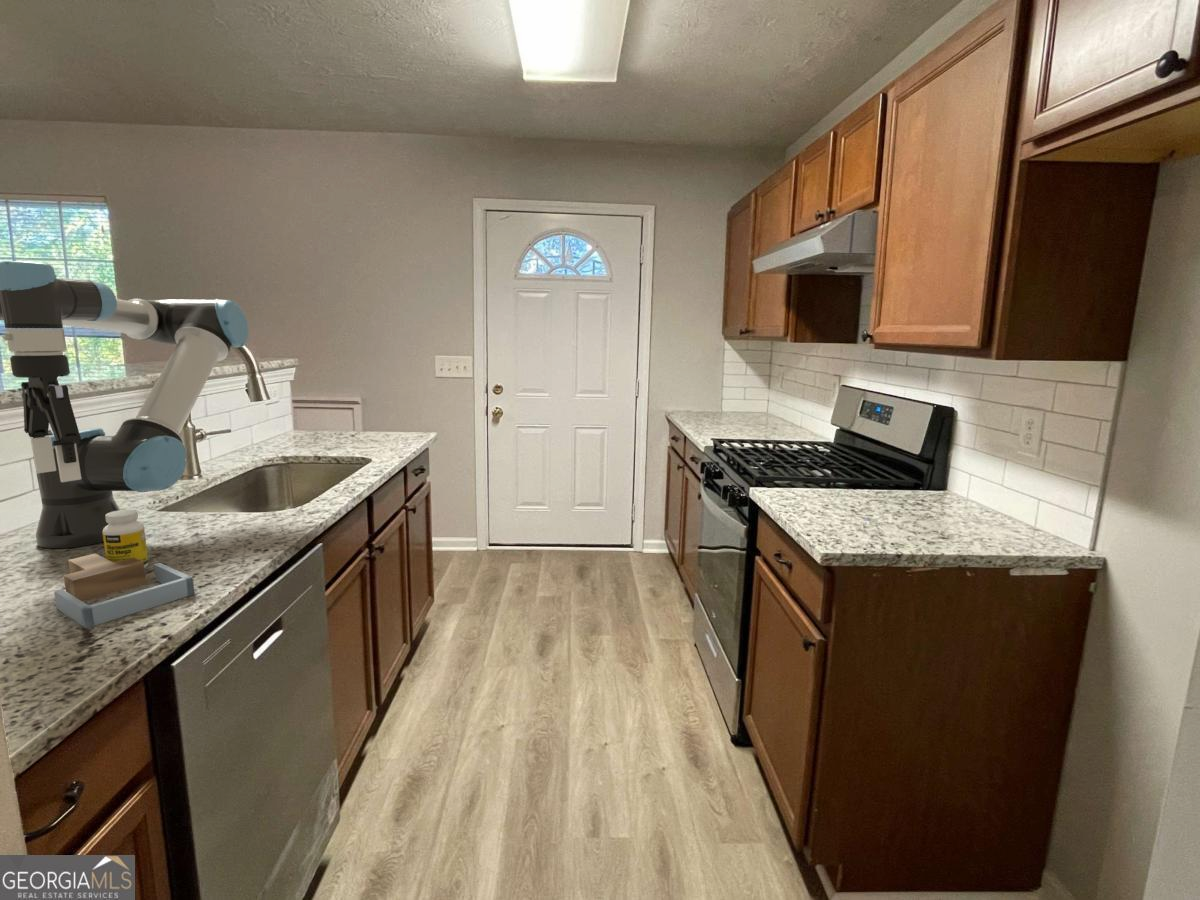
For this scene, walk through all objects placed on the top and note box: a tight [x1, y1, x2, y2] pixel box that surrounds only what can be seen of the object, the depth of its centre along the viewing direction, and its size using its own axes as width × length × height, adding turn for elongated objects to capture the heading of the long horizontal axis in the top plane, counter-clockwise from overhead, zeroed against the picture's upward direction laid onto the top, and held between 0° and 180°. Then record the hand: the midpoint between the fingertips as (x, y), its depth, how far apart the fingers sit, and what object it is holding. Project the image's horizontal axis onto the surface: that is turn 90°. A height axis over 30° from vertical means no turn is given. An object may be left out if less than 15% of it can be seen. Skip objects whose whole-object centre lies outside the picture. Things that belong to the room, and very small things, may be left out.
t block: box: [63, 553, 147, 602], centre depth 108 cm, size 12×10×4 cm
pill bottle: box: [103, 509, 149, 569], centre depth 115 cm, size 6×6×11 cm
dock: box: [53, 562, 195, 629], centre depth 102 cm, size 12×15×3 cm
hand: (58, 476), depth 112 cm, fingers open, 11 cm apart
